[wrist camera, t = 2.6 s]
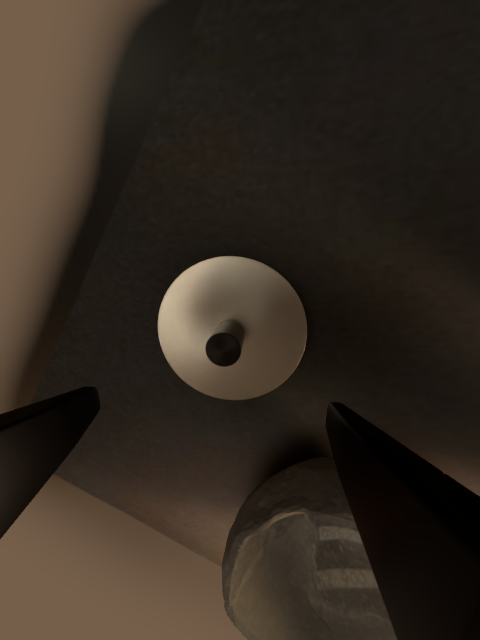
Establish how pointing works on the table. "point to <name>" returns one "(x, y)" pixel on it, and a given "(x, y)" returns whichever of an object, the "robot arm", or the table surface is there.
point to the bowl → (301, 562)
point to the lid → (232, 328)
